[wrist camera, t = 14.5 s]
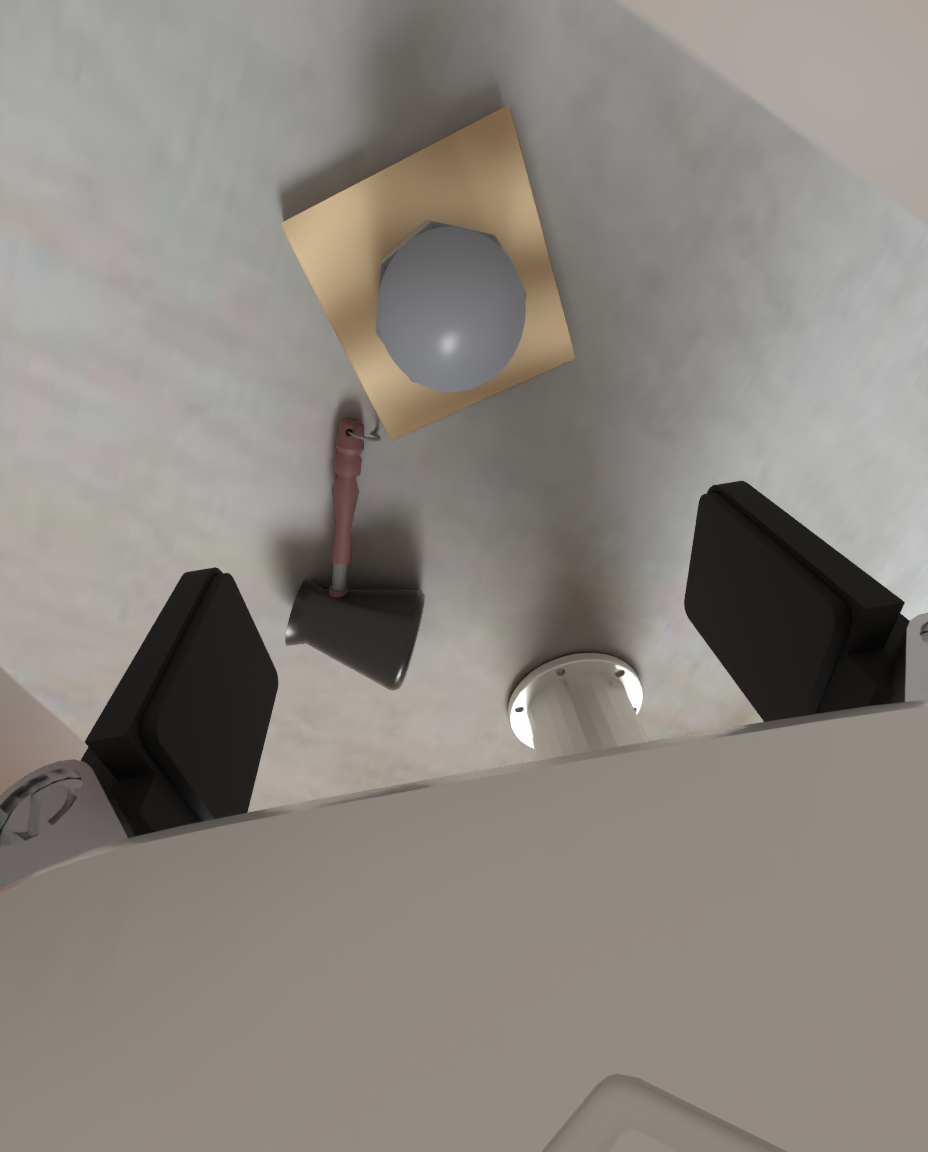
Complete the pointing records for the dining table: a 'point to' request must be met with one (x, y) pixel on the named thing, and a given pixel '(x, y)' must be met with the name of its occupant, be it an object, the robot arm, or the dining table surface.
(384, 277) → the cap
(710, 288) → the dining table surface
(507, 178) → the plate with round knob
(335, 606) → the coffee pot
